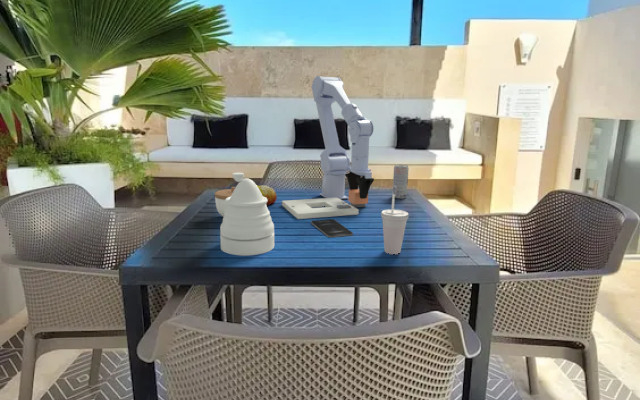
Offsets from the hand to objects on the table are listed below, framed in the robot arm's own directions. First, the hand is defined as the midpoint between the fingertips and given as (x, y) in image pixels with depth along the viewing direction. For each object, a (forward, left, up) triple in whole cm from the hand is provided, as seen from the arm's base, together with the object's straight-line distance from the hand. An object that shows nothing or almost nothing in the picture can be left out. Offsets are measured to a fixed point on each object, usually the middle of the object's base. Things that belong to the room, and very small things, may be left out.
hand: (358, 196), depth 147 cm
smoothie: (+45, -12, -4) cm, 47 cm away
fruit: (-12, -31, -4) cm, 33 cm away
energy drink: (-8, +21, -4) cm, 23 cm away
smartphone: (+23, -19, -4) cm, 30 cm away
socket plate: (+2, -15, -3) cm, 15 cm away
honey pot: (+31, -44, -4) cm, 54 cm away
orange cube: (0, 0, -3) cm, 3 cm away
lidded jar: (+4, -43, -4) cm, 43 cm away
